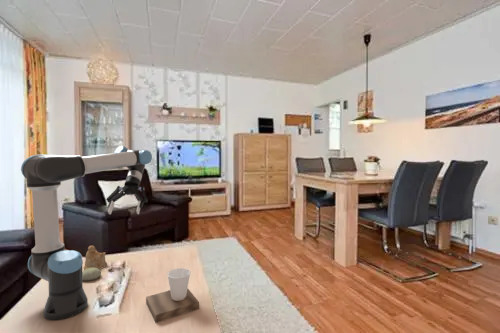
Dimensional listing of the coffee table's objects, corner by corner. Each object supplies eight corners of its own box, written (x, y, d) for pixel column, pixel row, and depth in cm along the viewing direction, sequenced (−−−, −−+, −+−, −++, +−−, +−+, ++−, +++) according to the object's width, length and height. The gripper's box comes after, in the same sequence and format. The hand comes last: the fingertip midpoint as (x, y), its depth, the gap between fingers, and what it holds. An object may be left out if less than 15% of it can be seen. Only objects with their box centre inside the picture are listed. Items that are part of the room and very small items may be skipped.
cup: (184, 305, 111) (184, 279, 110) (162, 302, 112) (162, 276, 112) (194, 292, 120) (194, 269, 120) (173, 290, 122) (173, 267, 122)
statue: (90, 244, 161) (104, 240, 159) (97, 266, 161) (110, 263, 158) (73, 251, 149) (87, 247, 147) (80, 275, 149) (94, 272, 147)
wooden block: (155, 322, 104) (155, 315, 103) (146, 303, 117) (146, 296, 117) (199, 308, 113) (199, 301, 113) (185, 292, 127) (185, 286, 127)
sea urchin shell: (95, 268, 147) (100, 261, 144) (100, 281, 144) (104, 274, 140) (77, 274, 140) (81, 266, 137) (81, 287, 137) (85, 280, 133)
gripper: (157, 184, 152) (150, 216, 138) (112, 184, 150) (99, 217, 136) (155, 176, 147) (147, 208, 133) (107, 175, 144) (94, 208, 130)
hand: (123, 213), depth 134 cm, fingers open, 13 cm apart
